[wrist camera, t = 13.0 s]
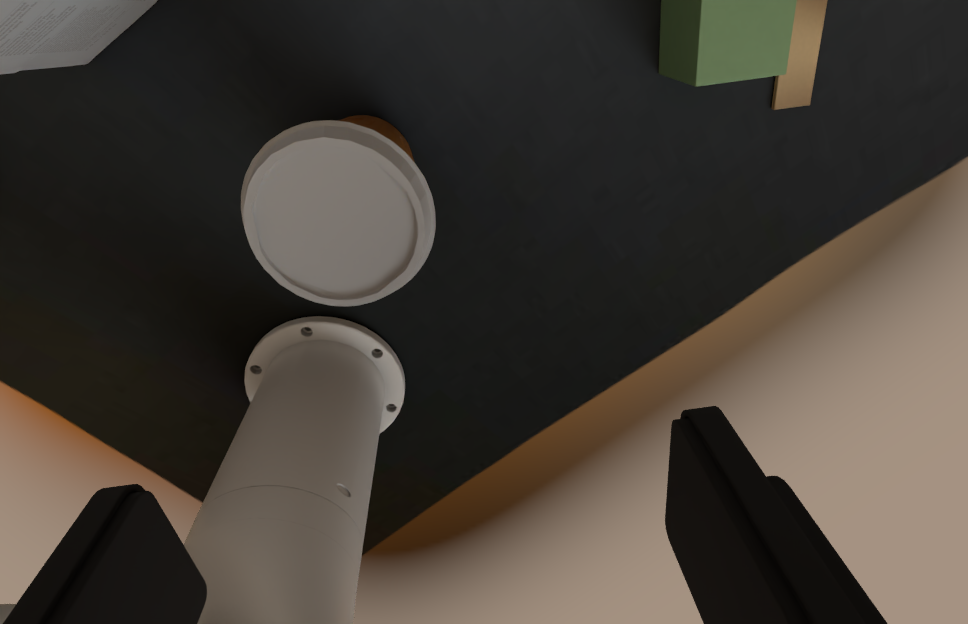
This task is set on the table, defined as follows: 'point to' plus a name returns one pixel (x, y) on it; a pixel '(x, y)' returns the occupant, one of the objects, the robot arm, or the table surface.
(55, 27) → the skincare box
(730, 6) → the green box
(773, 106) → the strip
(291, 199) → the disposable coffee cup
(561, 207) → the table surface
